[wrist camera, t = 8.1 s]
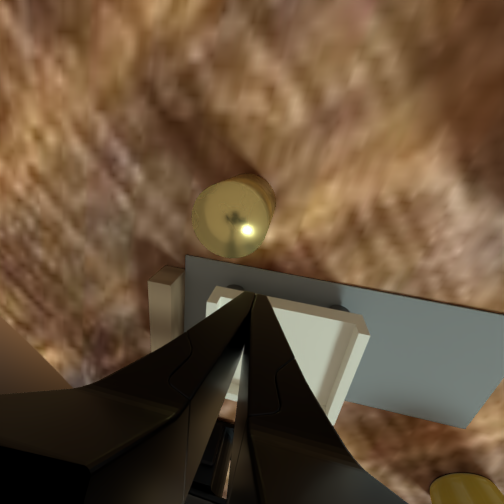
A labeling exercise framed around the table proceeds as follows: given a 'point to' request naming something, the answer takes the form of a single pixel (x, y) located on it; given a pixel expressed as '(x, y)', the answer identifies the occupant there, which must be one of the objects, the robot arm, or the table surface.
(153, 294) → the end stop
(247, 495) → the robot arm
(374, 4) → the table surface
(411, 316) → the mat
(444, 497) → the plant pot
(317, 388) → the shallow square tray
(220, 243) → the solid brass cylinder
